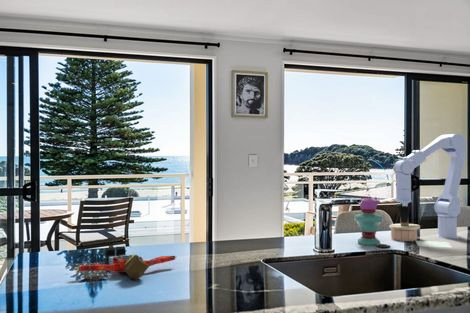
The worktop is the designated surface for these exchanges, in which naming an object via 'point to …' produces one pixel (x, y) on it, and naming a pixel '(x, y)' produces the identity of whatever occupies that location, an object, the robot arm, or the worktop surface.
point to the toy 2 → (368, 222)
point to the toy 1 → (125, 263)
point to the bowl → (404, 235)
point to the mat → (433, 244)
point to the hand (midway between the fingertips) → (403, 221)
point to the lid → (404, 226)
